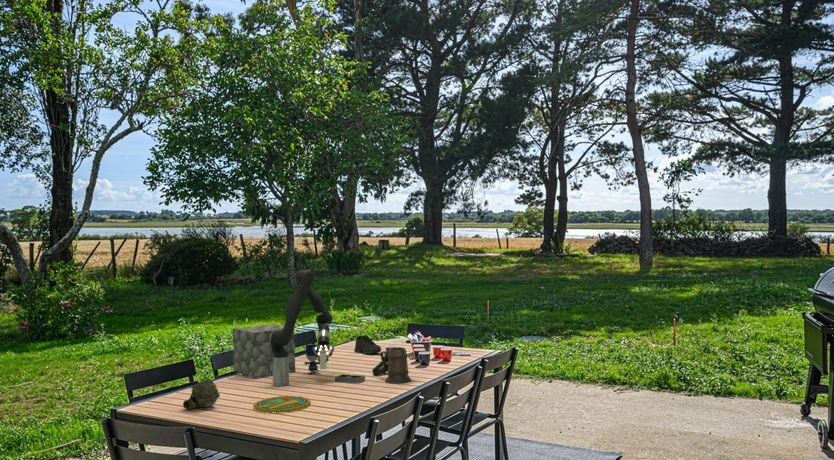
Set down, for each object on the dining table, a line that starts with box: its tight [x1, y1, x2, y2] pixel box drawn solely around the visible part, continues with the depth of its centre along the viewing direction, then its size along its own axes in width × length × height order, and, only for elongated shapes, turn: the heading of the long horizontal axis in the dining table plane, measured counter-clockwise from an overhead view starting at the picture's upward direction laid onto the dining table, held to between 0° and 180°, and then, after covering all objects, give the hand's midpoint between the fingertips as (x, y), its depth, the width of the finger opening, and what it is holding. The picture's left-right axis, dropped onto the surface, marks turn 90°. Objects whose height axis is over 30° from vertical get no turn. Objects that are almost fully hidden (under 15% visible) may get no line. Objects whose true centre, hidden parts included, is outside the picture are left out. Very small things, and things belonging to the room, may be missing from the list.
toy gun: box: [371, 352, 389, 377], centre depth 431 cm, size 22×5×15 cm
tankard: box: [377, 346, 413, 385], centre depth 409 cm, size 24×17×20 cm
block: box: [232, 323, 296, 380], centre depth 445 cm, size 30×30×30 cm
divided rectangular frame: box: [334, 373, 366, 384], centre depth 410 cm, size 8×17×3 cm, turn 66°
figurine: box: [303, 343, 320, 374], centre depth 438 cm, size 13×9×20 cm
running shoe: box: [353, 334, 382, 355], centre depth 510 cm, size 11×30×14 cm, turn 43°
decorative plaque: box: [252, 395, 311, 414], centre depth 352 cm, size 30×3×30 cm
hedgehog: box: [182, 378, 221, 411], centre depth 353 cm, size 18×14×15 cm
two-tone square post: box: [319, 350, 328, 370], centre depth 409 cm, size 4×4×11 cm
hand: (323, 361), depth 407 cm, fingers closed on two-tone square post, 4 cm apart
